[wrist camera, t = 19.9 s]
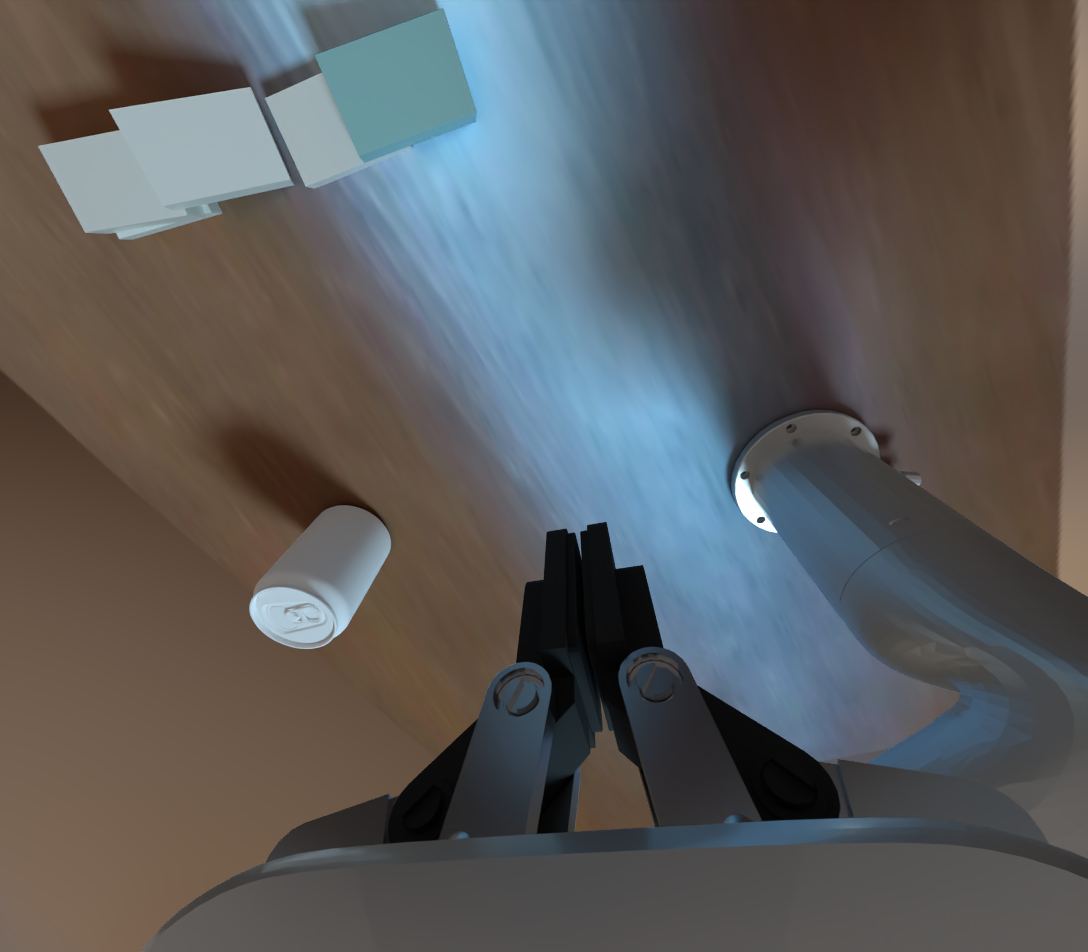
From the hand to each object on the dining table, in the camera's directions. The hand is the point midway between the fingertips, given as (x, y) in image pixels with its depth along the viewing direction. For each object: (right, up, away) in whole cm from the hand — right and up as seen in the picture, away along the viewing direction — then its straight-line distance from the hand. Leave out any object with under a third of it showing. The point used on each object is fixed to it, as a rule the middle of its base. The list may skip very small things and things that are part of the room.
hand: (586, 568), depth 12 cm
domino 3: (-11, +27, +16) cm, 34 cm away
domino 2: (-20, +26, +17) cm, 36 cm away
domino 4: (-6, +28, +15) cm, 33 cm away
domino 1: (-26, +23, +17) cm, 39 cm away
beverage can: (-21, -3, +34) cm, 40 cm away
